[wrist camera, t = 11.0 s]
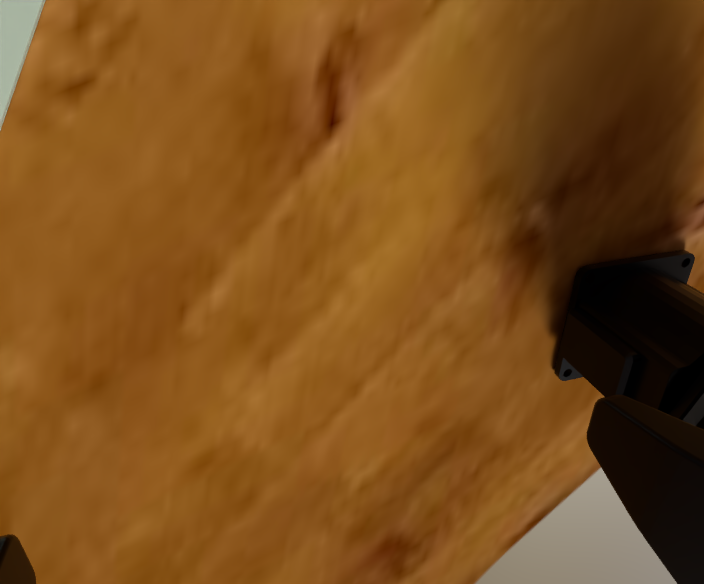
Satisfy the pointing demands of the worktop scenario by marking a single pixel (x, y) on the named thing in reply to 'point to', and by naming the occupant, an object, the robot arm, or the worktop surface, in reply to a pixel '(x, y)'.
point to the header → (15, 43)
